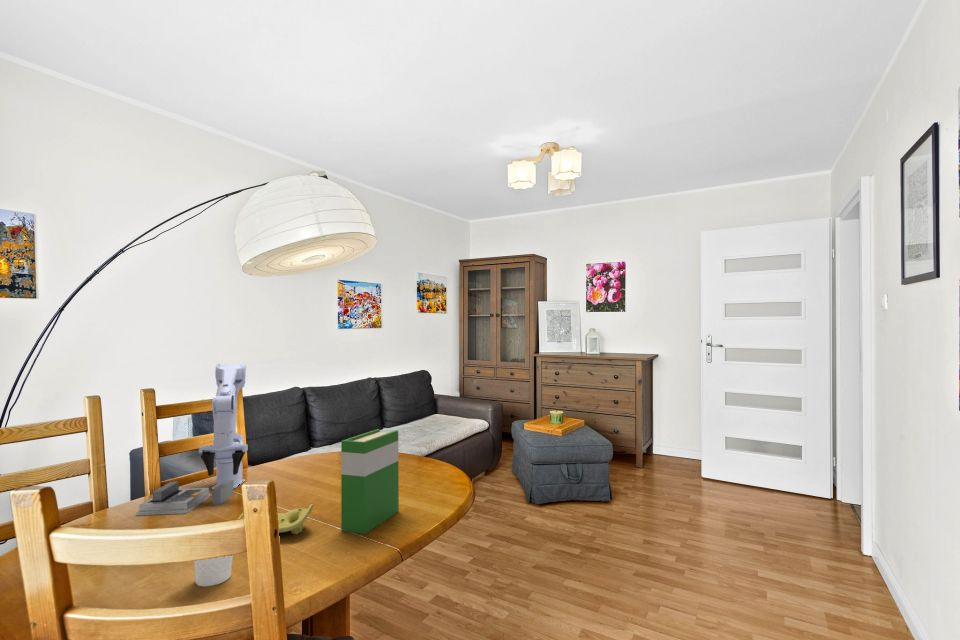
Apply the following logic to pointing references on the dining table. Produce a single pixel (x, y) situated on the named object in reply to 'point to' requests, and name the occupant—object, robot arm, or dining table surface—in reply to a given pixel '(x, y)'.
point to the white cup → (212, 570)
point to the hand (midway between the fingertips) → (223, 474)
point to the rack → (173, 500)
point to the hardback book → (369, 480)
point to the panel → (222, 492)
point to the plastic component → (292, 520)
